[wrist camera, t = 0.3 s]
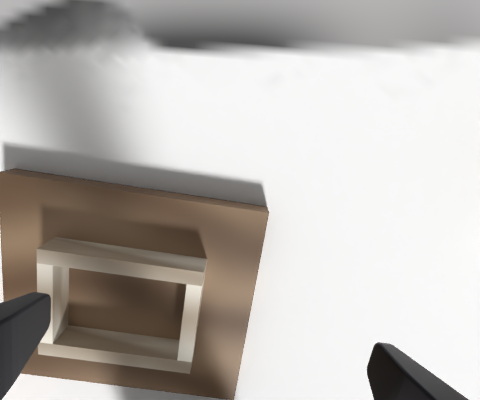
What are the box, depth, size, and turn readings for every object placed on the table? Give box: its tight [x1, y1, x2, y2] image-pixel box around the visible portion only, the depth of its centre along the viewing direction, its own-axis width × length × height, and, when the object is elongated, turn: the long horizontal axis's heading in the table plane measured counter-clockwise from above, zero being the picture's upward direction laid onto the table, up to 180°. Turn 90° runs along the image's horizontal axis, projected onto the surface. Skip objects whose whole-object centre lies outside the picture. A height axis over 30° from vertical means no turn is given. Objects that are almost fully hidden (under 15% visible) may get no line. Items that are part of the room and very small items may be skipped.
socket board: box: [0, 169, 269, 400], centre depth 22 cm, size 16×18×4 cm
